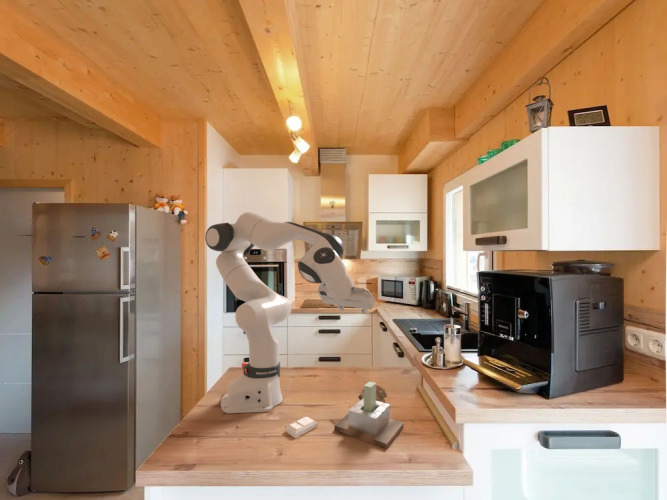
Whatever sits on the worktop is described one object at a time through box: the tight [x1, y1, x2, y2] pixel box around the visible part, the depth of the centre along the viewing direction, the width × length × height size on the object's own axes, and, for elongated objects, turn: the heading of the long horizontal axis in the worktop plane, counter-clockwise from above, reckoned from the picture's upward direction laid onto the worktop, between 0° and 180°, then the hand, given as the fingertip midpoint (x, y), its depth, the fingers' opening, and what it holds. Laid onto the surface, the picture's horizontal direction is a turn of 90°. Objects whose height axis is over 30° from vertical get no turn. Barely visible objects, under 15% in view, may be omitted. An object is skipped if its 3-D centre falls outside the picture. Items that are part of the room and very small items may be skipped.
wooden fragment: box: [358, 384, 388, 403], centre depth 133 cm, size 26×11×1 cm, turn 172°
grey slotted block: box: [348, 398, 391, 437], centre depth 109 cm, size 9×11×6 cm
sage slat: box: [363, 380, 377, 413], centre depth 109 cm, size 2×4×12 cm, turn 148°
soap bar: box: [285, 416, 318, 439], centre depth 108 cm, size 5×9×3 cm, turn 135°
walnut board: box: [334, 412, 404, 450], centre depth 109 cm, size 18×14×2 cm
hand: (353, 310), depth 124 cm, fingers open, 8 cm apart
